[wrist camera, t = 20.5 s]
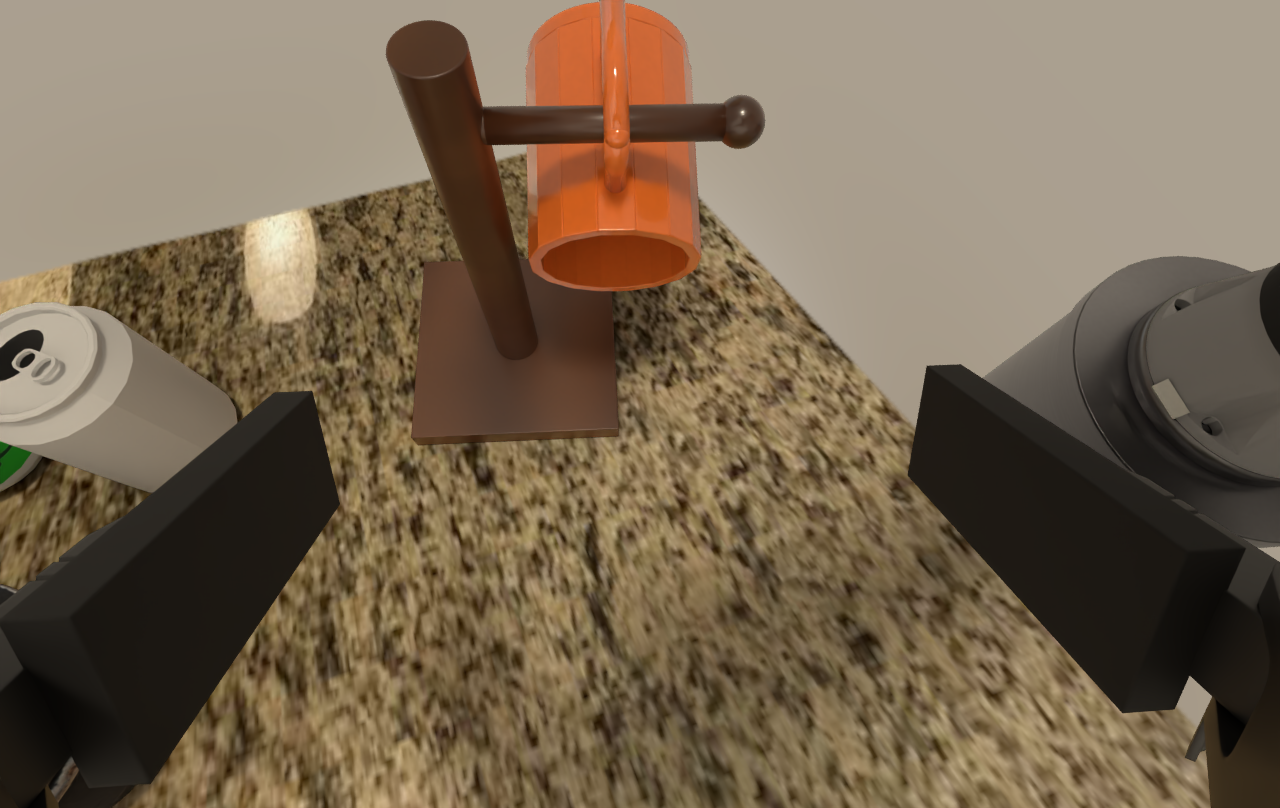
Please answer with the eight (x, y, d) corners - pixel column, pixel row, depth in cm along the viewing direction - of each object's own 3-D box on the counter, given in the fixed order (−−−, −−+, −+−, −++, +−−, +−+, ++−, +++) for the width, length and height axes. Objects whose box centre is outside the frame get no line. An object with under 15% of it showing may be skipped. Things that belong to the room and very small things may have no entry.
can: (176, 367, 42) (18, 265, 31) (269, 413, 41) (142, 324, 30) (94, 465, 40) (-109, 391, 28) (192, 516, 39) (22, 461, 27)
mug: (679, 110, 37) (688, 290, 36) (536, 110, 37) (538, 292, 35) (715, -78, 25) (732, 183, 24) (501, -82, 24) (503, 185, 23)
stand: (692, 266, 47) (762, -74, 25) (710, 432, 42) (815, 191, 20) (430, 273, 46) (261, -76, 24) (417, 445, 41) (193, 205, 19)
